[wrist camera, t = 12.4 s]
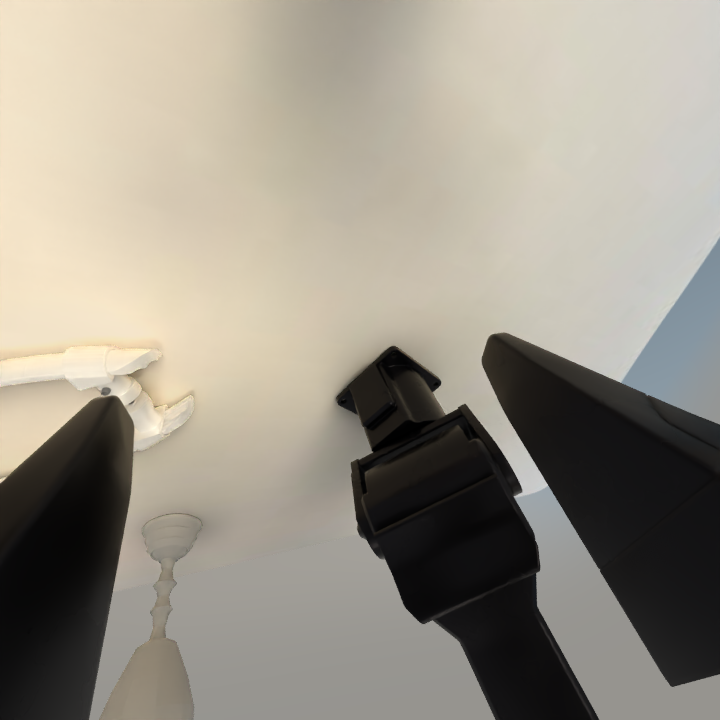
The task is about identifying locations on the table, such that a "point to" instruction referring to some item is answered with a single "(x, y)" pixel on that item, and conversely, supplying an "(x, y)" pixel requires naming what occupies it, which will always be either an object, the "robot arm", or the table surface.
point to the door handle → (105, 384)
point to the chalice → (158, 637)
